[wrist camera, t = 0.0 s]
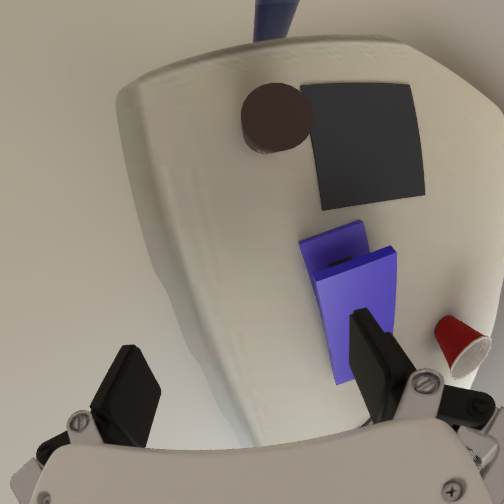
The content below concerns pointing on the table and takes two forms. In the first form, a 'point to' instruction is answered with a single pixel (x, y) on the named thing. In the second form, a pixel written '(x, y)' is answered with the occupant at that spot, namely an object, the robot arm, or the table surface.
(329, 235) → the stapler
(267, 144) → the deodorant
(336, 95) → the mat
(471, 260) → the table surface
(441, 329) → the plastic cup
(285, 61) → the table surface
